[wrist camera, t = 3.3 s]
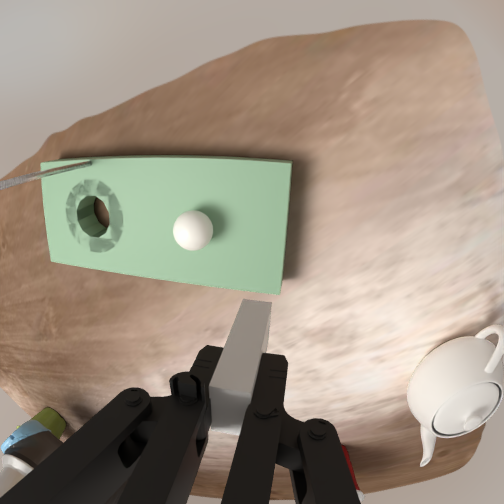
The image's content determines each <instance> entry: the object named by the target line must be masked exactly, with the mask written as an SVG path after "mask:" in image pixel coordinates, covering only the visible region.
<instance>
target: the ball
mask: <svg viewBox="0 0 504 504" xmlns="http://www.w3.org/2000/svg"><path fill="white" fill-rule="evenodd" d="M173 235H174V238H175V240H176V242H177V243H178V244H179V245H180V246H181V247H182V248H184V249H186V250H190V251H195V250H200V249H202V248H204V247H205V246H206V245H207V244H208V243H209V242H210V240H211V238H212V235H213V225H212V222H211V220H210V219H209V217H208V216H207V215H205V214H204V213H202V212H200V211H196V210H191V211H186V212H184V213H182V214H181V215H180V216H179V217H178V218H177V219H176V221H175V223H174V227H173Z"/></svg>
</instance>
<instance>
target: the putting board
mask: <svg viewBox="0 0 504 504" xmlns="http://www.w3.org/2000/svg"><path fill="white" fill-rule="evenodd" d="M85 161H91V162H92V165H91V166H90V167H85V168H81V169H76V170H72V171H68V172H64V173H60V174H55V175H52V176H48V177H44V178H41V180H42V194H43V205H44V214H45V223H46V230H47V238H48V244H49V250H50V256H51V261H52V262H57V263H63V264H68V265H74V266H80V267H85V268H91V269H97V270H103V271H109V272H115V273H122V274H128V275H134V276H141V277H147V278H154V279H161V280H167V281H174V282H181V283H189V284H196V285H203V286H211V287H218V288H226V289H234V290H242V291H250V292H258V293H267V294H276V295H280V291H281V285H282V279H283V269H284V259H285V248H286V237H287V225H288V214H289V201H290V189H291V175H292V161H288V160H276V159H262V158H246V157H225V156H193V155H135V156H104V157H85V158H70V159H58V160H52V161H47V162H42V163H41V171H43V170H47V169H52V168H56V167H61V166H65V165H70V164H75V163H80V162H85ZM96 197H98V198H99V199H100V200H102V201H103V202H104V204H105V206H106V208H107V210H108V211H109V221H110V224H109V227H108V228H106V227H104V226H103V225H102V224H100V223H99V222H98V220H97V218H96V216H95V214H94V201H95V199H96ZM191 210H196V211H200V212H202V213H204V214H205V215H207V216H208V217H209V219H210V220H211V222H212V225H213V235H212V238H211V240H210V242H209V243H208V244H207V245H206V246H205V247H204V248H202V249H200V250H195V251H190V250H186V249H184V248H182V247H181V246H180V245H179V244H178V243H177V242H176V240H175V238H174V235H173V227H174V223H175V221H176V219H177V218H178V217H179V216H180V215H181V214H182V213H184V212H186V211H191Z"/></svg>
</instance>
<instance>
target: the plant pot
mask: <svg viewBox="0 0 504 504" xmlns="http://www.w3.org/2000/svg"><path fill="white" fill-rule="evenodd" d="M31 420H37V421H39V422H40V423H41V424H42V425H43V426H44V427H46V428H47V429H49V430H50V431H51V433H52V434H54V435H55V436H56V437H57V438H58V439H60V437H61V435H62V433H63V431H64V429H65V427H66V423H65V421H64V419H63V418H61V417H60V416H59V414H58V413H57V412H56V411H54V410H53V409H51V408H49V407H47V408H45V409H43V410H42V411H41V412H39V413H38V414H37V415H35V416H34V417H33V418H32V419H31ZM22 425H23V424H22ZM19 427H20V426H17V429H18V428H19Z"/></svg>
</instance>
